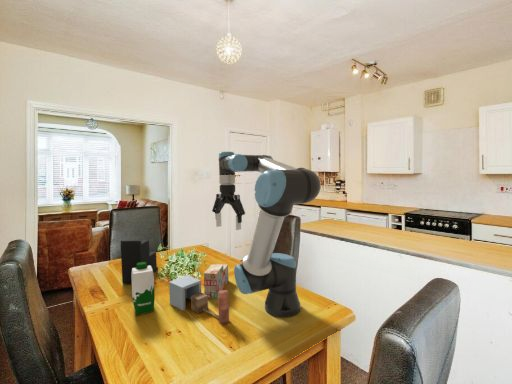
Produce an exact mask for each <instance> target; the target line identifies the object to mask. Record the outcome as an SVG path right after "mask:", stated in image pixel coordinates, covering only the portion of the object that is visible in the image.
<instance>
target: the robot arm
mask: <svg viewBox="0 0 512 384" xmlns="http://www.w3.org/2000/svg"><path fill="white" fill-rule="evenodd" d="M218 172H219V173H218V174H219V175H218V176H219V179H218V180H219V181H218V183H219V184H220V185H219V193H217V194H215V201H214V203H213V207H212V210H211V211H212V212H213V213H214V215H215V224H216V228H218V227H222V212H221V211H222V209H223V208H224V206H225V205H226V204H227V205H230V206H231V208H232V209H233V211H234V213H235V214H236V215H235V230H236V231H239V230H242V223H243V220H242V218H243V216H244V215H246V211H245V209H244V206H243V203H242V201H241V196H240V194H235V192H236V173H239V172H240V173H241V172H259V173H260V174H259V175H258V177H257V179H256V181H255V185H254V191H255V192H254V199H255V202H256V203H257V204H258V207H259V209H260V211H259V216H258V218H257V222H256V226H255V230H254V234H253V237H252V240H251V244H250V246H249V247H250V248H249V251H248V253H247V254H246V255H245V256H243V259H242V262H241V263H238V264H236V265H234V268H233V269H234V271H233V273H234V279H235V284H236V286H237V289H238V290H239V292H240V293H241V294H242V295H249V294H250V295H251V294H255V293H258V292H262V291H266V290H268V291H267V294H266V298H265V301H264V310H265V312H267V313H268V314H270V315H271V316H274V317H279V318H289V317H293V316H296V315H298V314H299V313H300V311H301V302H300V299H299V295H298V293H297V264H296V263H297V262H296V259H295V258H294V257H293V256H292V255H289V254H287V253H286V254H285V253H280V252H279V253H278V252H274V250H275V247H276V244H277V241H278V237H279V235H280V231H281V229H282V227H283V222H284V220H285V218H286V217H288V216H290V215H291V213H292V211H293V207H294V206H295V205H302V204H307V203H310V202H312V201H314V200H315V199H316V198H317V197H318V195H319V193H320V192H321V188H322V187H321V186H322V185H321V183H322V182H321V179H320V177H319V175H318V174H317V173H316V172H314V171H313V170H310V169H307V168H305V167H297V168H296V167H294V166H291V165H289V164H286V163H284V162H280V161H277V160H276V159H274V158H273V156H271V155H266V154H261V155H260V154H258V155H255V154H241V153H235V152H233V151H220V152H219V153H218Z"/></svg>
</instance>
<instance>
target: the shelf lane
mask: <svg viewBox="0 0 512 384" xmlns="http://www.w3.org/2000/svg"><path fill="white" fill-rule="evenodd" d="M168 288H169V289H168V290H169V292H168V293H169V304H170V305H172V306H173V307H174V308H177V309H179V310H181V311H183V312H184V311H186V299H189V300H191V296H193V295H195V294H197V293H200V292H201V293H202V280H200V279H198V278H196V277H193V276H190V275H185V276H181V277H179V278H175V279H173V280H170V281H168Z"/></svg>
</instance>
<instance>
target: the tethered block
mask: <svg viewBox="0 0 512 384" xmlns="http://www.w3.org/2000/svg"><path fill="white" fill-rule="evenodd" d="M229 296H230V295H229V290H227V289H223V290H220V291H219V292H218V298H217V299H218V303H217V304H218V314H216V313H214V312H212V311H210V310H208V309H209V300H208V299H209V298H208V295H206V294H204V293H203V292H202V291H201V292H200V293H197V294H195V295H193V296H191V299H190V305H191V311H193V312H195V313H197V314H200V313H203V312H205V313H207V314H210V315H212V316H213V317H215V318H217V319H218V323H219V324H220V325H227V324H229V323H230V305H229V303H230V302H229V301H230V299H229Z"/></svg>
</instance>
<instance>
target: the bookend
mask: <svg viewBox="0 0 512 384" xmlns="http://www.w3.org/2000/svg"><path fill="white" fill-rule="evenodd" d="M120 258H121V259H120V260H121V261H120V263H121V280H122V281H121V282H122V284H124V285H126V284H131V285H132V279H131V277H132V268H135V267H137V263H139V262H146V263H147V266H149V265H151V267H152V269H153V274H154V273H155V272H157V271H158V270H159V266H158V265H157V264H158V263H157V252H156V251H150V240H149V239H134V240H120Z"/></svg>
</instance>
